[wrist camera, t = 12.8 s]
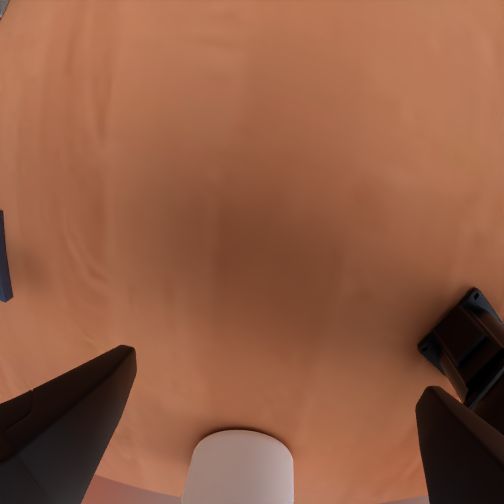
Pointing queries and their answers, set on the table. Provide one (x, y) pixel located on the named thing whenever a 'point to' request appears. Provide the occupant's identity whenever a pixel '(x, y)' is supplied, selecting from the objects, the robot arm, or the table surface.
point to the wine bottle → (239, 470)
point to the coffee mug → (3, 6)
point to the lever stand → (4, 267)
